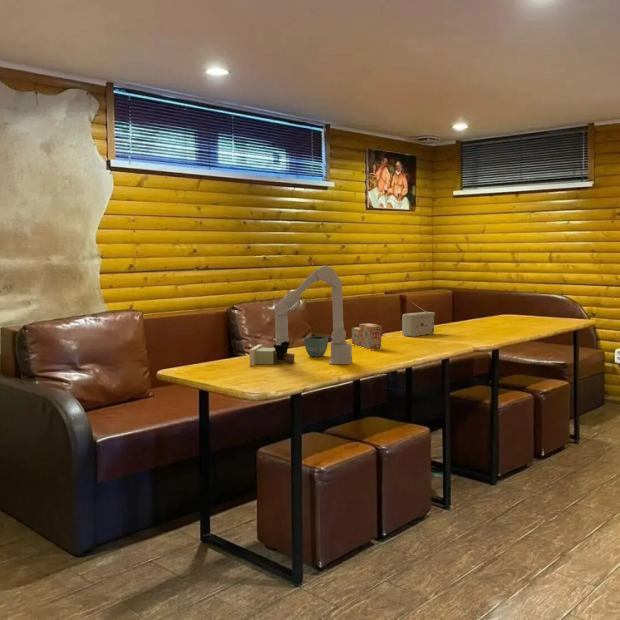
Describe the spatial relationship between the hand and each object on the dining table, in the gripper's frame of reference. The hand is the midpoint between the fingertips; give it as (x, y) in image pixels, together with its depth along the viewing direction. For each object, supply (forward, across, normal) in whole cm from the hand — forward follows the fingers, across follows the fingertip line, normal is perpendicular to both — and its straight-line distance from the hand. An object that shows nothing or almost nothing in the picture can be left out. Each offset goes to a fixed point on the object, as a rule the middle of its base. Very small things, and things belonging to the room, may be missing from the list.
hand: (282, 358), depth 301 cm
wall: (+2, 0, -12) cm, 12 cm away
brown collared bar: (+2, 0, -2) cm, 3 cm away
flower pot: (+2, -20, +12) cm, 24 cm away
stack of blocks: (+2, -52, +34) cm, 62 cm away
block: (+2, 0, -7) cm, 7 cm away
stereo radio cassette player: (+2, -102, +60) cm, 118 cm away
